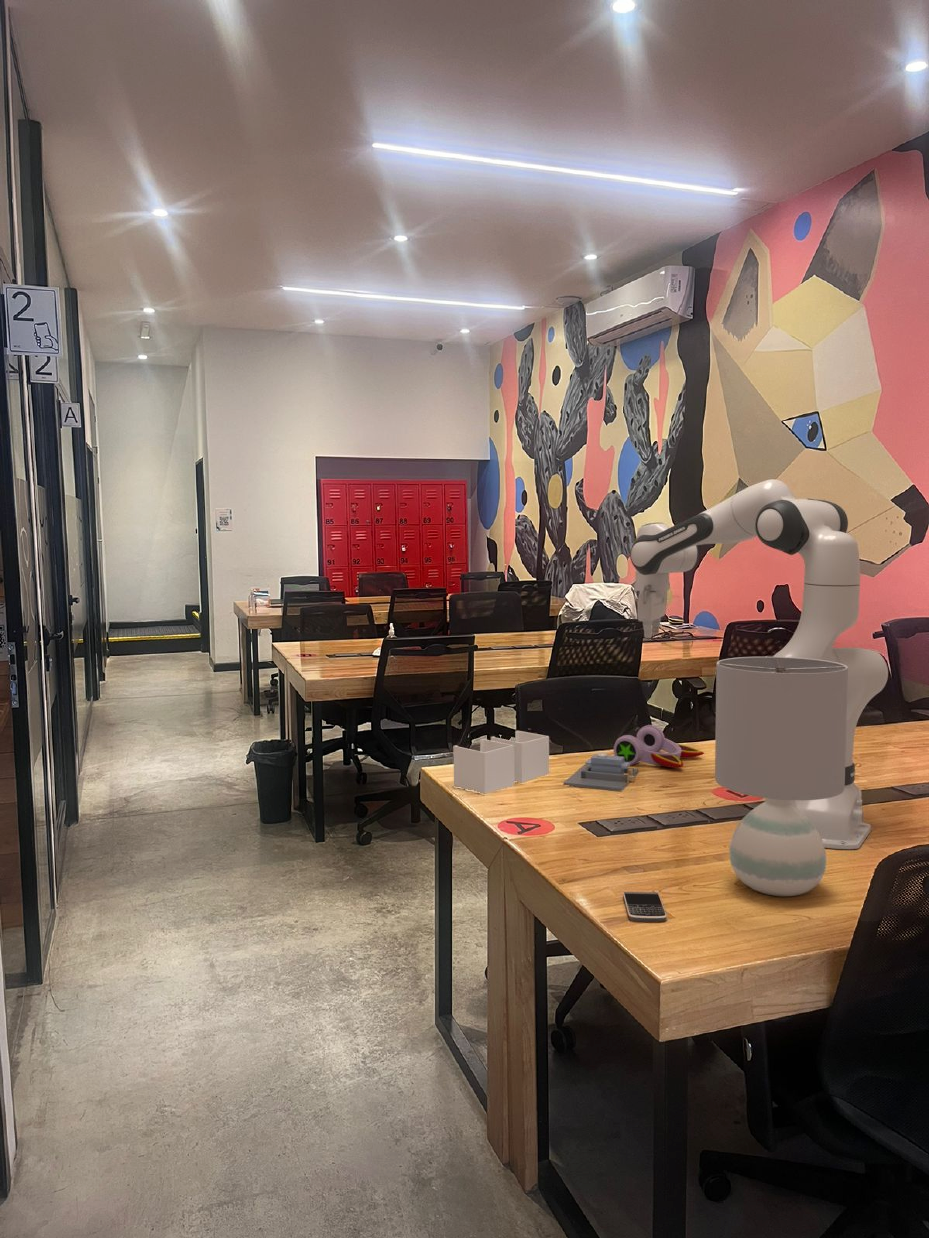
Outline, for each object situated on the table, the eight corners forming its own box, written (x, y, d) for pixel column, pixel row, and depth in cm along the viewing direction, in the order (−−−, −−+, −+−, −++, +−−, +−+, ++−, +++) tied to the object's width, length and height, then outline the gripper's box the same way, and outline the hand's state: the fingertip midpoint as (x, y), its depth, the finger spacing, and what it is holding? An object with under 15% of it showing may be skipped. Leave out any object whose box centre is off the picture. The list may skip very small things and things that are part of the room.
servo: (632, 784, 226) (632, 758, 225) (585, 779, 231) (585, 754, 230) (635, 780, 229) (635, 754, 229) (589, 775, 234) (589, 750, 234)
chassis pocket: (621, 791, 219) (621, 781, 219) (563, 785, 225) (563, 775, 224) (638, 772, 237) (638, 763, 237) (584, 767, 243) (584, 758, 243)
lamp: (832, 870, 165) (838, 658, 161) (850, 918, 144) (857, 675, 140) (713, 860, 170) (716, 655, 167) (713, 905, 150) (717, 671, 146)
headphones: (637, 724, 263) (702, 723, 252) (641, 756, 263) (706, 757, 252) (610, 736, 247) (678, 735, 235) (614, 771, 247) (682, 772, 235)
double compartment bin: (485, 796, 217) (484, 752, 216) (453, 788, 224) (453, 746, 223) (549, 776, 234) (549, 736, 233) (518, 769, 242) (517, 730, 241)
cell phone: (629, 924, 143) (629, 916, 143) (622, 897, 154) (622, 889, 154) (667, 925, 143) (667, 917, 143) (657, 898, 154) (657, 890, 154)
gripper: (656, 586, 223) (655, 640, 224) (670, 582, 241) (670, 632, 242) (631, 586, 225) (631, 639, 226) (648, 582, 244) (647, 631, 245)
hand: (651, 635), depth 235 cm, fingers open, 8 cm apart
